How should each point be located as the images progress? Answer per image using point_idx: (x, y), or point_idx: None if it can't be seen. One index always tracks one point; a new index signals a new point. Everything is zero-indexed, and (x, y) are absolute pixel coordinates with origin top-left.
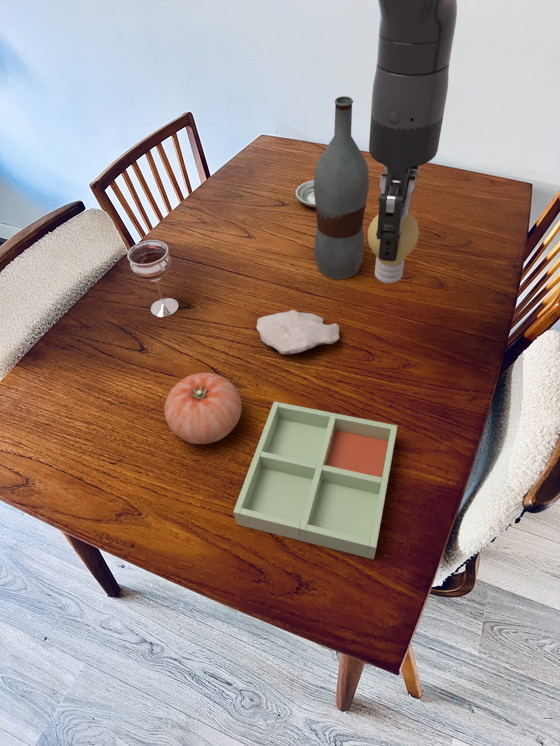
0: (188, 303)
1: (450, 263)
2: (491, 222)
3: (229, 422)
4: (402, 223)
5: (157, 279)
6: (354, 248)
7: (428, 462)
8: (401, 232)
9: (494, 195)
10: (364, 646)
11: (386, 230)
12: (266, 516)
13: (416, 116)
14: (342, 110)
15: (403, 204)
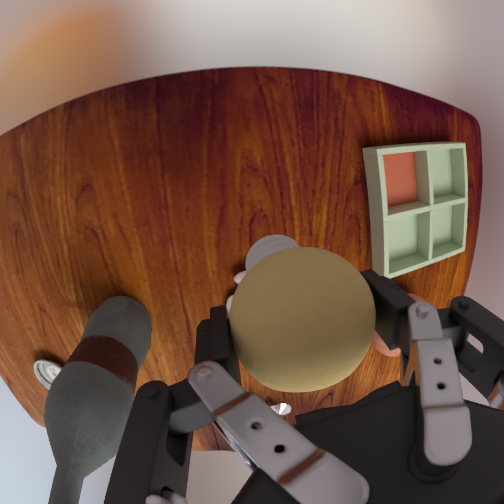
0: (265, 402)
1: (45, 195)
2: None
3: (418, 299)
4: (355, 327)
5: None
6: (120, 323)
7: (370, 110)
8: (429, 308)
9: None
10: (479, 137)
11: (464, 341)
12: (465, 227)
13: None
14: None
15: (231, 367)
